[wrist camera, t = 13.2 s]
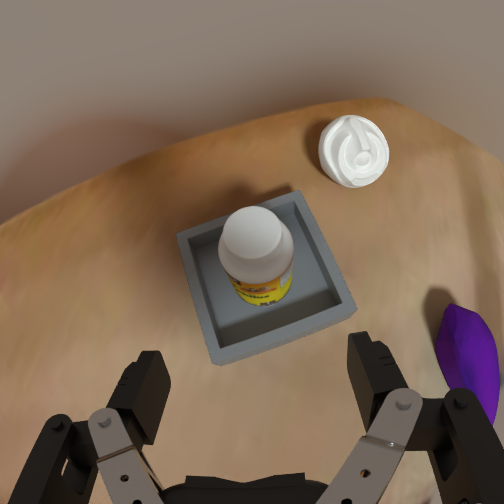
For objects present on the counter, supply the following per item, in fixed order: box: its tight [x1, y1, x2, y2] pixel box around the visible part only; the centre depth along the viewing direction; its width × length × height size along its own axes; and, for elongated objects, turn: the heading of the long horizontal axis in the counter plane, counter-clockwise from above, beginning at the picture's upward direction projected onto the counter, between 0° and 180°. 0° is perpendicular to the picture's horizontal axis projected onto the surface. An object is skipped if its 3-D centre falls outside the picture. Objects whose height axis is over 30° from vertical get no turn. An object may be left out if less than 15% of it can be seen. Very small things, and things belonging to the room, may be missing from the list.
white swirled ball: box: [318, 115, 389, 188], centre depth 32 cm, size 8×8×8 cm
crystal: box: [436, 303, 500, 426], centre depth 23 cm, size 5×5×15 cm
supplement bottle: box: [218, 206, 294, 307], centre depth 25 cm, size 6×6×10 cm
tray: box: [176, 190, 357, 366], centre depth 29 cm, size 13×13×4 cm
